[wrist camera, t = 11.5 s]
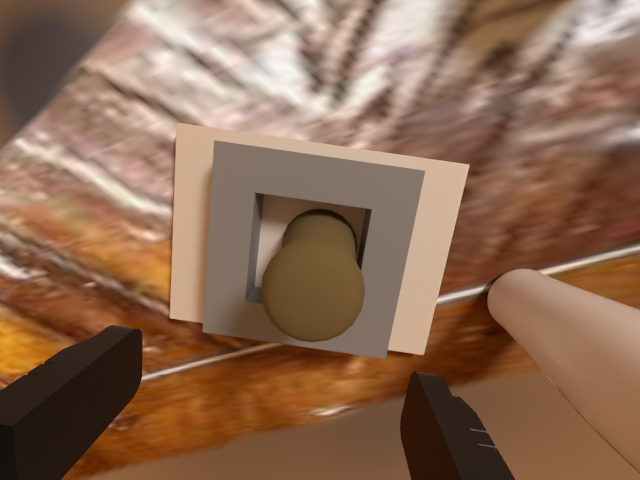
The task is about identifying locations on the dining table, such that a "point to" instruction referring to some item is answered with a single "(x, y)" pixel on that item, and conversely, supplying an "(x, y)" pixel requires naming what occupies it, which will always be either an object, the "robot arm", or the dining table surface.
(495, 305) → the drinking glass
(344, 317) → the cork
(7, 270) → the dining table surface
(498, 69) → the dining table surface
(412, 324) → the socket board
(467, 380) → the dining table surface
